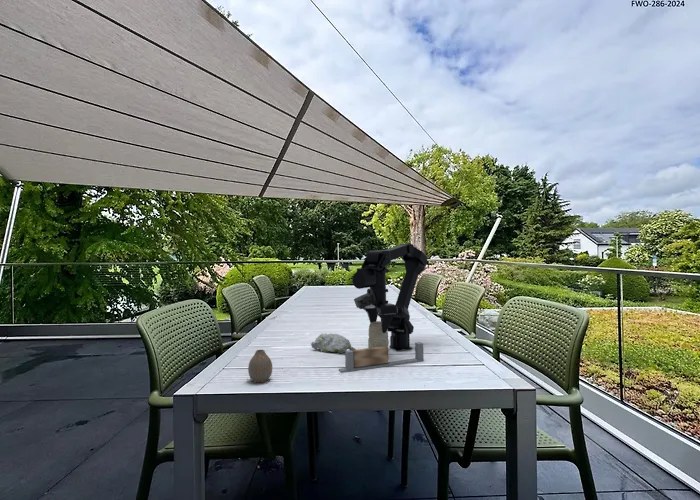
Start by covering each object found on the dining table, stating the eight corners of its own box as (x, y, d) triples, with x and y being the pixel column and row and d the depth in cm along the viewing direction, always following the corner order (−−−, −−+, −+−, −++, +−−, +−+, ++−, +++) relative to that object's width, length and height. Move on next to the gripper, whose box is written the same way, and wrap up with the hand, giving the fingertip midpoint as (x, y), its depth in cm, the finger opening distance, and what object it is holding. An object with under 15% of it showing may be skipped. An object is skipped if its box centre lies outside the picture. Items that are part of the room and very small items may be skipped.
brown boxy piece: (379, 357, 127) (379, 342, 127) (388, 362, 121) (388, 347, 121) (347, 361, 123) (346, 346, 123) (354, 367, 117) (354, 351, 117)
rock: (357, 351, 139) (356, 333, 139) (348, 356, 133) (347, 337, 133) (321, 346, 146) (321, 329, 146) (311, 351, 140) (311, 333, 140)
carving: (392, 356, 131) (392, 322, 131) (375, 360, 127) (375, 325, 127) (381, 352, 137) (380, 319, 136) (364, 356, 132) (364, 322, 132)
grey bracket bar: (420, 359, 128) (419, 341, 128) (423, 361, 125) (423, 343, 125) (338, 370, 117) (338, 351, 117) (341, 372, 115) (341, 353, 115)
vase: (250, 376, 113) (250, 347, 112) (273, 375, 113) (273, 347, 113) (246, 385, 106) (245, 354, 106) (270, 384, 106) (270, 353, 106)
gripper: (347, 284, 137) (347, 327, 138) (367, 290, 120) (368, 338, 120) (374, 283, 141) (375, 324, 142) (398, 288, 124) (398, 335, 124)
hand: (378, 330), depth 132 cm, fingers open, 9 cm apart
